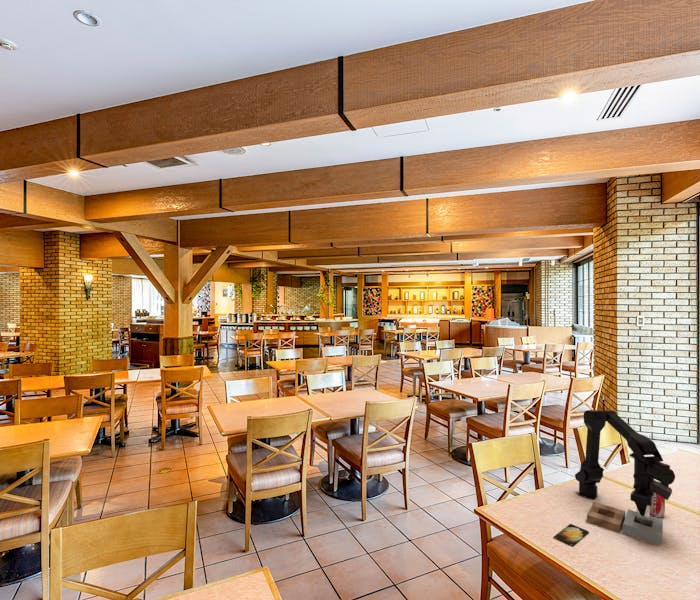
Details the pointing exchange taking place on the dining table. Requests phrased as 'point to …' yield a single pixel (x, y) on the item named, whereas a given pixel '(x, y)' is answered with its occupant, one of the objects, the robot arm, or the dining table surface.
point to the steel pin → (644, 517)
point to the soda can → (657, 506)
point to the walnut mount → (606, 517)
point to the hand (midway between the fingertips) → (643, 513)
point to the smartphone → (571, 535)
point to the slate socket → (643, 528)
